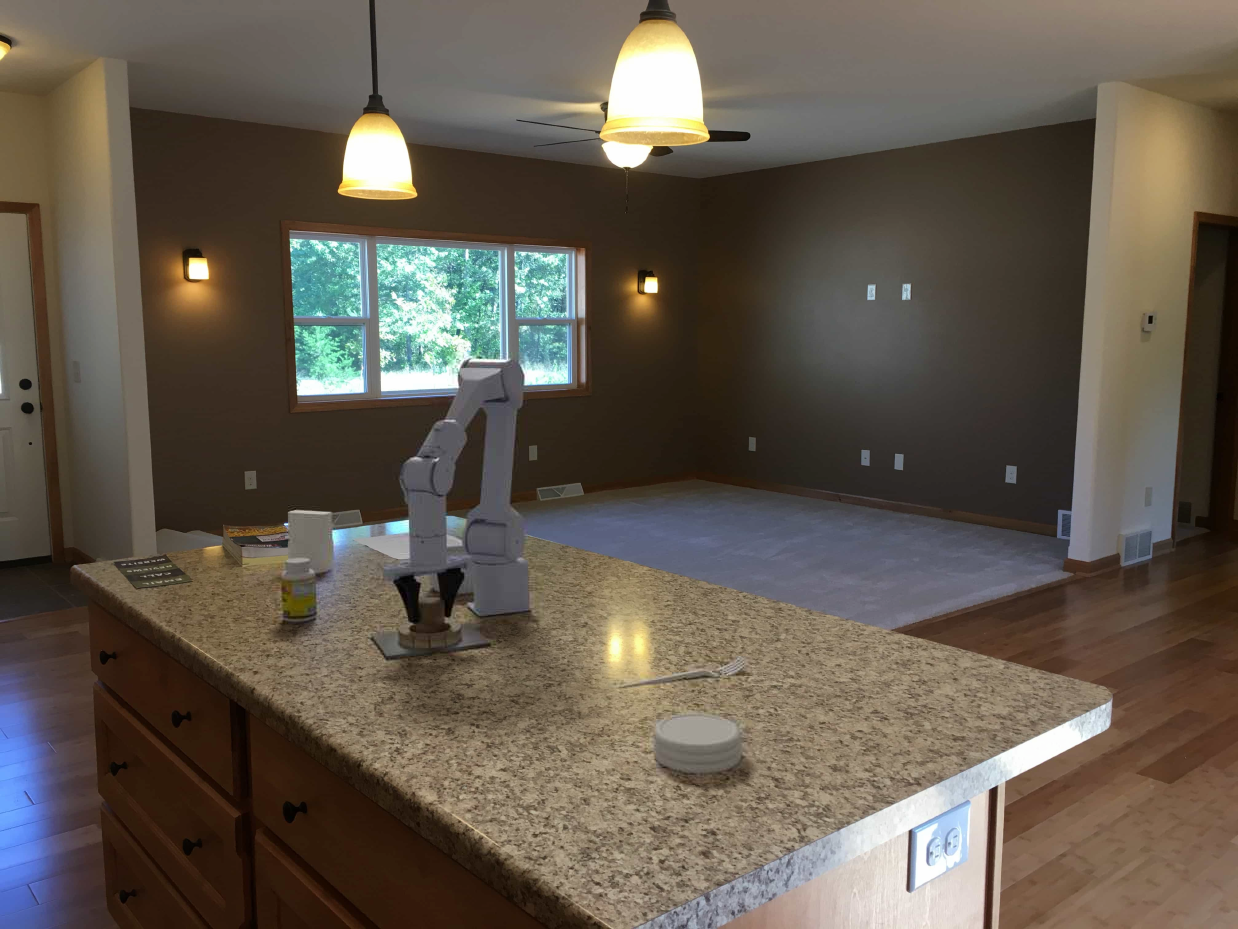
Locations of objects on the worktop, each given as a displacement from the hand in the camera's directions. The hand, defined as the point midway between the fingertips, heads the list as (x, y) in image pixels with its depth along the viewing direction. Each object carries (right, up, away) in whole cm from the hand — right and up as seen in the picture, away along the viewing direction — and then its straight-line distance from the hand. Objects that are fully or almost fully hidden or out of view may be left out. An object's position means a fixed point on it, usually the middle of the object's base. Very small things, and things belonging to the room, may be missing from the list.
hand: (429, 619), depth 153 cm
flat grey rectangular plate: (0, -4, 0) cm, 4 cm away
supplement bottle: (-25, -2, +13) cm, 28 cm away
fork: (+39, -6, -16) cm, 42 cm away
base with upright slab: (-34, +2, +50) cm, 61 cm away
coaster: (+39, -9, -42) cm, 58 cm away
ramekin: (-1, 0, +35) cm, 35 cm away
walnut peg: (0, -3, 0) cm, 3 cm away
